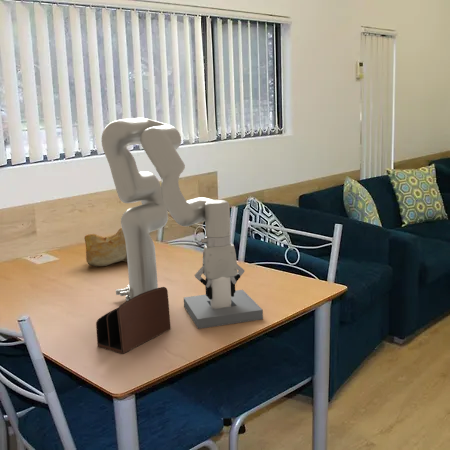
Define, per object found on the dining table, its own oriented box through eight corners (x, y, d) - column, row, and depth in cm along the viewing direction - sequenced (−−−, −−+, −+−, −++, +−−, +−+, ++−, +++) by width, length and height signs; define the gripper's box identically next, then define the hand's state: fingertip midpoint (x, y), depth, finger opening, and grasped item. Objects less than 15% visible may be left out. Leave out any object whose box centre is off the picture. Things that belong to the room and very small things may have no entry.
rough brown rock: (136, 254, 257) (131, 221, 254) (145, 260, 241) (140, 225, 239) (83, 264, 249) (78, 229, 246) (88, 270, 233) (83, 234, 231)
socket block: (198, 328, 169) (197, 319, 169) (184, 306, 188) (183, 297, 188) (262, 319, 175) (262, 309, 174) (242, 298, 193) (242, 289, 193)
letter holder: (171, 329, 170) (168, 283, 167) (123, 355, 154) (118, 304, 151) (146, 323, 176) (142, 278, 173) (97, 347, 160) (92, 298, 157)
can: (229, 313, 177) (228, 275, 175) (208, 312, 179) (207, 275, 176) (233, 305, 184) (232, 269, 181) (213, 304, 185) (211, 268, 182)
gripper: (193, 246, 171) (196, 304, 175) (249, 240, 175) (251, 297, 179) (187, 240, 178) (190, 296, 182) (241, 235, 182) (243, 289, 186)
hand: (220, 296), depth 180 cm, fingers closed on can, 6 cm apart
